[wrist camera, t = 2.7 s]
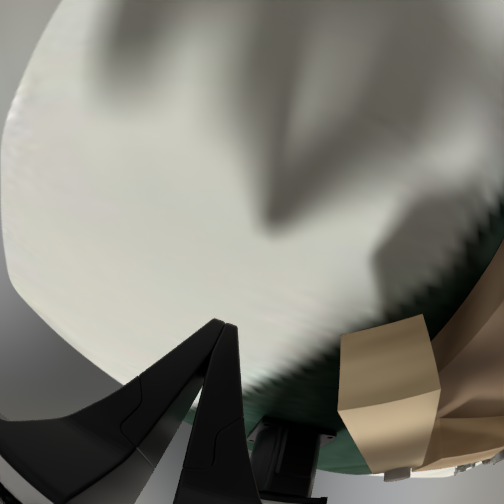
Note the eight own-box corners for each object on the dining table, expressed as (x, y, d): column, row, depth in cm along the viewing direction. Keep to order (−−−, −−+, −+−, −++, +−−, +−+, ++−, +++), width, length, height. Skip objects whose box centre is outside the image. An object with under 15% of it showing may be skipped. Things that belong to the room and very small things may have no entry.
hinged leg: (419, 427, 12) (420, 475, 9) (376, 436, 13) (373, 484, 10) (422, 313, 8) (443, 407, 5) (340, 335, 9) (335, 429, 6)
